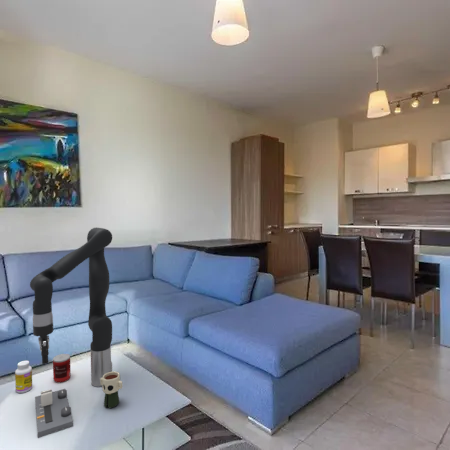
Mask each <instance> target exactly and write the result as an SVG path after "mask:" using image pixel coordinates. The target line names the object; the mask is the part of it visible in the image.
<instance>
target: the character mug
mask: <svg viewBox="0 0 450 450" xmlns="http://www.w3.org/2000/svg"><path fill="white" fill-rule="evenodd" d="M120 376H121V375H120V372H118V371H115V370H114V371H113V370H112V372H108V373H106V374H104V375H103V378H101V379H100V384H101V385H102V386H101V387H102V391H103V393H104V400H103V401H104V402H103V404H104V405H103V407H105V408H109V409H110V408H114V407H116V406H117V405H118V404H119V403H120V397H119V390H120V389H121V390H122V389H123V381H122V380H120V379H121V378H120Z"/></svg>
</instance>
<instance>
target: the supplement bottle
mask: <svg viewBox="0 0 450 450" xmlns="http://www.w3.org/2000/svg"><path fill="white" fill-rule="evenodd" d="M14 376H15V381H14V382H15V383H14V384H15V392H16V393H18V394H22V393H23V394H24V393H26V392H29V391H31V389H33V368H32V366H31V365H30V361H29V360H22V361H19V362H18V363H17V369H15V371H14Z"/></svg>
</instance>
